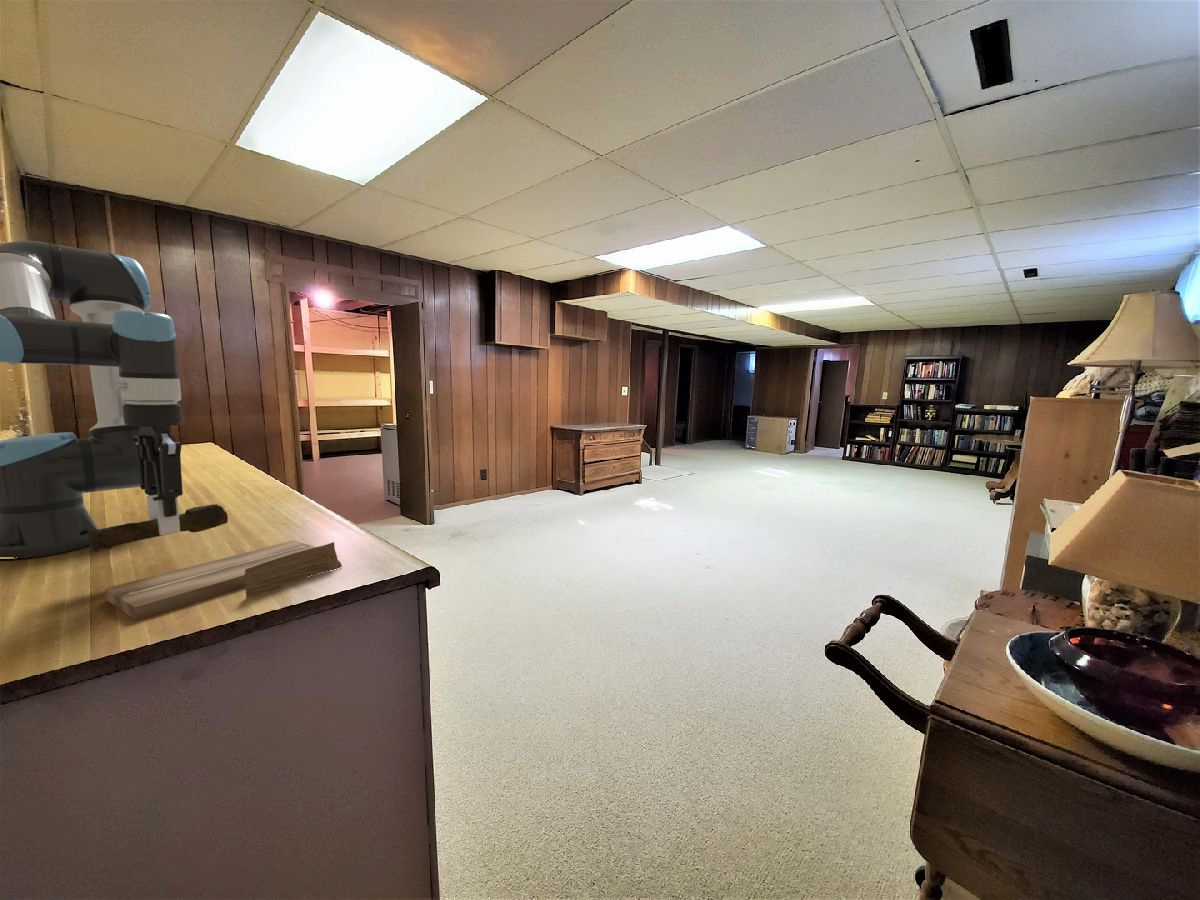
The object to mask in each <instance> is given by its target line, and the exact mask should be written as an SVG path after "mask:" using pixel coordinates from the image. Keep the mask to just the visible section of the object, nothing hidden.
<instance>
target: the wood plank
mask: <svg viewBox="0 0 1200 900" xmlns="http://www.w3.org/2000/svg"><path fill="white" fill-rule="evenodd" d="M335 546H336V545H335V541H333V542H329V543H327V544H323V545H320V546H314V547H315V548H311V549H308V550H304V551H300V552H297V553H293V554H290V555H287V556H284V557H281V558H277V559H274V560H271V561H268V562H265V563H262V564H259V565H257V566H254V567H251V568H248V569H245V585H244V586H245V587H244V588H245V595H246V596H245V597H246V598H250V597H253V596H255V595H258V594H260V593H263V592H266V591H270V590H272V589H275V588H279V587H281V586H283V585H286V584H289V583H292V582H295V581H299V580H303V579H307V578H309V577H308V576H310V577H312V576H311V575H313V576H316V575H315V574H317V575H319V574H318V573H320V574H322V573H321V572H326V571H330V570H333V571H335V570H334V569H337V568H340V567H342V568H343V565H342V563H341V562H340V560H339V559H338V556H337V552H336V550H335V549H336V548H335ZM340 569H341V568H340ZM337 570H338V569H337ZM330 572H331V571H330ZM326 573H327V572H326ZM306 577H307V578H306Z"/></svg>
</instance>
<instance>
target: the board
mask: <svg viewBox="0 0 1200 900" xmlns="http://www.w3.org/2000/svg"><path fill="white" fill-rule="evenodd" d="M315 547H316V546H314V545H311V544H307V543H304V542H301V541H298V540H295V539H293V540H290V541H284V542H282V543H277V544H275V545H274V544H273V545H271V546H267V547H262V548H258V549H255V550H251V551H247V552H246V551H245V552H243V553H239V554H235V555H231V556H227V557H223V558H220V559H215V560H211V561H208V562H204V563H203V562H202V563H200V564H196V565H192V566H189V567H183V568H181V569H177V570H176V569H175V570H173V571H169V572H168V571H167V572H165V573H160V574H157V575H153V576H149V577H146V578H142V579H141V578H140V579H137V580H134V581H129V582H127V583H122V584H118V585H113V586H111V587H106V588H105V596H106V597H105V598H106V601H107V600H108V601H110V602H111V603H112V604H111V603H110V602H109V603H110V604H111V605H113V604H114V605H115V607H116V608H117V607H118V609H119V610H120V609H121V610H120V611H122V612H123V613H124V614H126V615H128V616H129V617H131V618H133V620H135V621H138V620H141V619H145V618H147V617H151V616H154V615H157V614H160V613H164V612H169V611H170V610H173V609H178V608H180V607H183V606H186V605H191V604H192V603H193V604H194V603H196V602H199V601H202V600H206V599H209V598H212V597H215V596H216V597H217V596H219V595H222V594H225V593H229V592H232V591H235V590H238V589H241V588H245V586H244V585H245V569H248V568H251V567H254V566H257V565H259V564H262V563H265V562H268V561H271V560H274V559H277V558H281V557H284V556H287V555H290V554H293V553H297V552H300V551H304V550H308V549H311V548H315ZM108 601H107V602H108ZM114 605H113V606H114Z"/></svg>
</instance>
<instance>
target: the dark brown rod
mask: <svg viewBox="0 0 1200 900" xmlns="http://www.w3.org/2000/svg"><path fill="white" fill-rule="evenodd" d="M228 519H229V517H228V513H227V512H226V510H225V509H224V508H223V507H222V506H221V505H219V504H216V503H214V504H213V503H212V504H208V505H201V506H194V507H192V508H187V509H186V510H185V512H184V513H181V514H179V523H180V532H179V533H181V532H182V533H183V532H190V533H199V532H204V531H206V530H209V529H213V528H214V529H215V528H217V527H219V526H222V525H225V524H227V523H228V522H229V520H228ZM176 533H178V532H176ZM171 534H173V533H171ZM171 534H170V535H171ZM161 536H162V537H163V536H164V535H159V527H158V519H154V520H149V519H148V520H144V521H141V522H127V523H124V524H118V525H114V526H109V527H104V528H99V529H89V530H88V540H89V546H90V549H91V550H92V551H93V552H95V553H97V552H99V551H101V550H103V549H109V550H110V549H112V548H113V547H115V546H118V545H119V546H121V545H124V544H125V545H126V544H129V543H133V542H138V541H143V540H149V539H153V538H158V537H161ZM165 536H169V534H166V535H165Z"/></svg>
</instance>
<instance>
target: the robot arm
mask: <svg viewBox="0 0 1200 900" xmlns="http://www.w3.org/2000/svg"><path fill="white" fill-rule="evenodd" d="M149 284H150V283H149V280H148V277H147V275H146V271H145V270H144V268H143V267H142V265H141V264H140V263H139V262H138V261H137V260H135V259H134V258H132V257H128V256H123V255H120V254H119V255H118V254H115V253H112V252H102V251H97V250H90V249H85V248H80V247H79V248H78V247H73V246H72V247H71V246H67V245H66V246H65V245H61V244H60V245H59V244H55V243H49V242H44V241H39V240H37V241H36V240H18V241H17V240H16V241H9V242H4V243H0V363H7V364H11V365H13V364H14V365H16V364H17V365H18V364H28V365H29V364H32V365H63V366H64V365H65V366H67V365H69V366H89V372H90V378H91V384H92V393H93V399H94V405H95V411H96V417H97V422H96V424H95V425H94V426H92V427H91V428H89V430H88V433H89V437H87V438H85V437H84V438H77V435H75V433H74V432H71V431H69V432H68V431H65V432H64V431H62V432H52V433H51V432H50V433H41V434H35V435H27V436H26V435H24V436H19V437H14V438H13V437H11V438H7V439H2V440H0V557H14V558H16V557H17V558H24V559H30V557H33V558H38V557H39V558H40V557H45V556H52V555H56V554H61V553H62V554H63V553H66V552H70V551H71V552H72V551H74V550H78V549H81V548H85V547H88V546H90V545H89V540H88V530H89V529H100V527H98V525H97V523H96V522H95V521H94V519H93V517H92V516H91V514H90V513H89V511H88V510H87V508H86V507H85V503H84V494H86V493H96V492H104V491H112V490H123V489H133V488H140V490H143V491H144V494H145V495H146V500H147V501H146V502H147V511H148V513H147V514H148V521H149V520H154V519H158V527H159V535H163V536H167V535H166V534H168V535H171V533H172V534H175V533H176V532H177V533H181V532H180V523H179V515H180V514H179V506H178V505H179V504H178V503H179V502H178V498H179V497H180V496H183V493H184V492H183V478H182V477H183V476H182V461H181V453H182V452H181V451H182V443H181V442H180V441H176V438H175V436H174V435H173V433H172V430H171V427H172V426H178V425H182V424H183V423H184V418H183V417H184V416H183V407H182V405H181V404H180V403H178V402H180V401H181V400H182V390H181V381H180V378H179V368H178V356H177V342H176V341H177V340H176V338H177V333H176V332H175V326H174V325H175V324H174V320H173V318H172V317H171V316H169V315H168V314H164V313H161V312H159V313H157V312H152V311H151V312H150V311H146V310H149V309H150V308H151V307H152V296H151V295H152V294H151V289H150V285H149ZM50 300H54V301H63V302H68V303H69V308H70V310H71V311H72V312H73V313H74V314H76V315H78V316H79V317H80V318H81V320H82V321H76V320H69V319H56V316H55V315H56V314H55V313H54V309H53V307H52V304H51V303H52V302H51V301H50Z"/></svg>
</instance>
